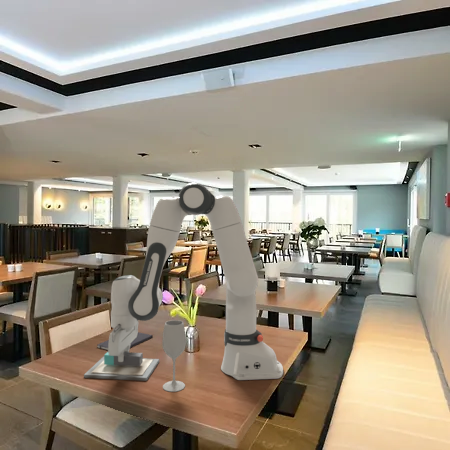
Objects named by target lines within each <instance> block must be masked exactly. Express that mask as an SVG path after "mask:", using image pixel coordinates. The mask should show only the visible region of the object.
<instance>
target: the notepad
mask: <svg viewBox="0 0 450 450" xmlns="http://www.w3.org/2000/svg"><path fill="white" fill-rule="evenodd" d="M159 363H160V358H147V357H146V358H144V357H143V362H142V364H141V365H140V366H127V365H106V364H104V355H103V356H102V357H101V358H100V359H99V360H98V361H96V363H95V364H94V365H93V366H92V367H90V368H89V369H88V370H87V371H86V372H85V373H84V374H83V378H85V379H87V378H88V379H104V380H105V379H107V380H124V381H125V380H128V381H145V382H146V381H148V380H149V379H150V377H151V375H152V373H153V372H154V371H155V369H156V367H157V366H158V365H159Z"/></svg>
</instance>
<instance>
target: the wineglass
mask: <svg viewBox="0 0 450 450" xmlns="http://www.w3.org/2000/svg"><path fill="white" fill-rule="evenodd" d="M162 333H163V334H162V341H161V344H162V345H161V346H162V349H163V352H165V354H166V355H167V356H168V357H169V358H171V359H172V380H170V381H167V382H165V383H164V384H163V385H162V389H163V390H164V391H165V392H169V393H175V392H180V391H182V390H184V389H185V388H186V384H185V383H184V382H183V381H180V380H176V360H177V358H179V356H181V355H182V354H183V352H184V351H185V349H186V345H187V337H186V329H185V324H184V321H183V320H180V319H179V320H176V319H175V320H174V319H171V320H167V321H165V323H164V327H163V332H162Z"/></svg>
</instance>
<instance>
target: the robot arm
mask: <svg viewBox="0 0 450 450" xmlns="http://www.w3.org/2000/svg"><path fill="white" fill-rule="evenodd" d="M198 215H205V216H206V217H207V220H208V221H209V223H210V227H211V231H212V234H213V238H214V241H215V245H216V248H217V252H218V256H219V261H220V263H221V267H222V270H223V275H224V279H225V284H226V286H225V329H224V332H223V333H224V334H223V338H224V339H223V342H224V343H223V344H224V353H223V359H222V362H221V366H220V370H221V371H222V372H223V374H226V375H228V376H231V377H233V378H234V379H235V380H237V381H248V380H249V381H251V380H273V379H280V378H283V375H284V368H283V367H284V366H283V364H282V363H281V362H280V361H279V360H278V357H277V355H276V352H275V350H274V349H273V348H272V347H270V346H269V345H268V344H266V343H265V342H264V341H263V340H264V337H263V334H262V332H261V330H260V329H259V330H258V329H257V298H256V297H257V295H256V293H257V292H256V291H257V290H256V289H257V287H258V285H259V276H258V273H257V269H256V266H255V265H256V264H255V263H254V259H253V257H252V253H251V250H250V247H249V243H248V240H247V236H246V233H245V230H244V225H243V223H242V220H241V216H240V213H239V211H238V208H237V206H236V204H235V202H234V200H233V198H232V197H230V196H227V195H218V196H215V195H213V193H212V192H211V191H210V190H209V189H208V188H207V187H206V186H204V184H201V183H199V182H191V183H190V182H189V183H187V184H185V185H184V186H183V187H182V188H181V189H180V191H179V193H178V197H170V196H168V197H167V196H166V197H162V198H159V200H158V201H157V202H156V205H155V207H154V209H153V212H152V215H151V219H150V222H149V227H148V231H147V239H146V251H145V252H146V253H145V260H144V264H143V267H142V272H141V276H140V279H139V278H137V277H136V276H135V275H132V274H125V275H122V276H121V275H120V276H119V277H116V278H114V280H113V281H112V283H111V289H110V291H111V293H110V302H111V311H110V327H111V328H112V331H110V333H109V337H108V340H109V344H108V350H107V352H108V353H109V355H110V356H118V361H119V362H123V361H124V355H123V352H130V349H131V348H130V345H131V342H132V341H133V340H134V339H135V338H136V337H137V334H138V332H139V321H142V322H144V321H146V322H147V321H150V320H151V319H153V318H154V317H156V315H157V314H158V311H159V310H160V309H159V308H160V306H161V304H162V302H163V298H164V295H163V291H162V289H161V288H160V287H159V285H160V281H161V276H162V272H163V268H164V266H165V264H166V261H167V260H168V258H169V256H170V255H171V253H172V252H173V251H174V249H175V247H176V244H177V242H178V240H179V238H180V233H181V229H182V224H183V222H184V219H185V218H186V217H187V216H198Z"/></svg>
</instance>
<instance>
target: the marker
mask: <svg viewBox="0 0 450 450" xmlns="http://www.w3.org/2000/svg"><path fill="white" fill-rule="evenodd" d="M123 355H124V361H123V362H119V361H118V356H110V355H109V353H108V351H107V352H106V353H104V355H103V356H104V364H106V365H127V366H140V365H141V364H142V362H143V358H144V356H143V355H144V353H143V352H130V351H129V352H123Z"/></svg>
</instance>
